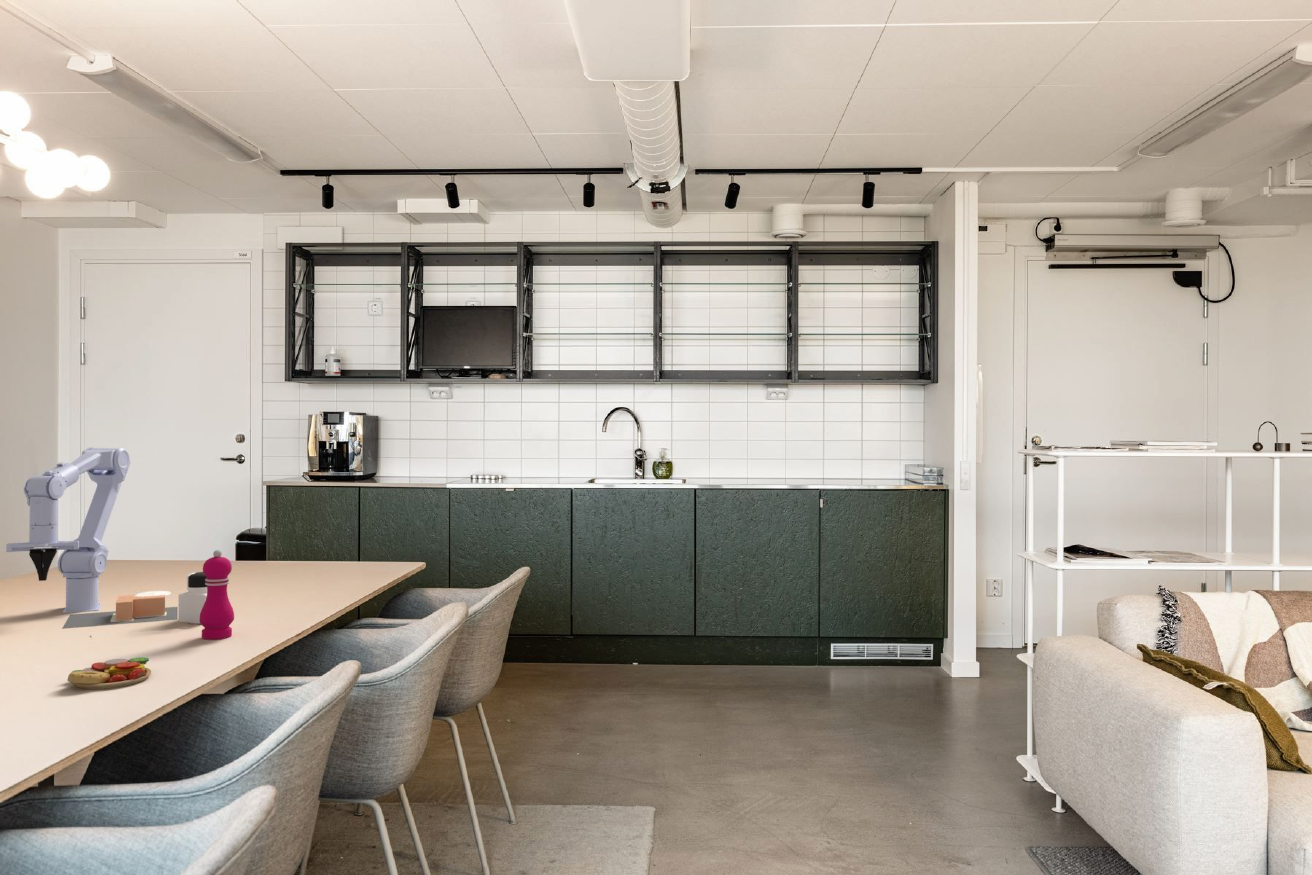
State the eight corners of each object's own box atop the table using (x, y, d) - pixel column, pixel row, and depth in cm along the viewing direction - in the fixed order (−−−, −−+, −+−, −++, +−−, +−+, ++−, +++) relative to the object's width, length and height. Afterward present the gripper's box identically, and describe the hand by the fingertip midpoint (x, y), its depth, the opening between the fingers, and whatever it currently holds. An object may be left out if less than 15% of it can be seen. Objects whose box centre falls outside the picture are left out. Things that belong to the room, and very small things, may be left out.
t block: (118, 613, 227) (118, 596, 227) (165, 610, 232) (165, 592, 232) (115, 621, 219) (115, 602, 219) (164, 617, 224) (164, 599, 224)
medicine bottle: (222, 618, 225) (222, 570, 225) (205, 624, 218) (205, 575, 218) (195, 617, 226) (195, 570, 226) (177, 623, 219) (178, 574, 219)
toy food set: (62, 695, 160) (62, 676, 160) (76, 676, 172) (76, 659, 172) (147, 687, 165) (147, 669, 165) (155, 669, 177) (155, 653, 177)
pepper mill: (241, 634, 207) (242, 548, 207) (216, 641, 200) (217, 552, 200) (216, 632, 209) (217, 547, 209) (191, 638, 203) (192, 550, 203)
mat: (70, 616, 226) (70, 614, 226) (177, 608, 237) (177, 606, 237) (62, 630, 210) (62, 628, 210) (177, 620, 221) (177, 619, 221)
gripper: (4, 526, 211) (3, 584, 211) (77, 524, 218) (76, 580, 218) (9, 524, 217) (8, 580, 217) (80, 522, 224) (79, 576, 224)
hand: (42, 580), depth 218 cm, fingers closed
